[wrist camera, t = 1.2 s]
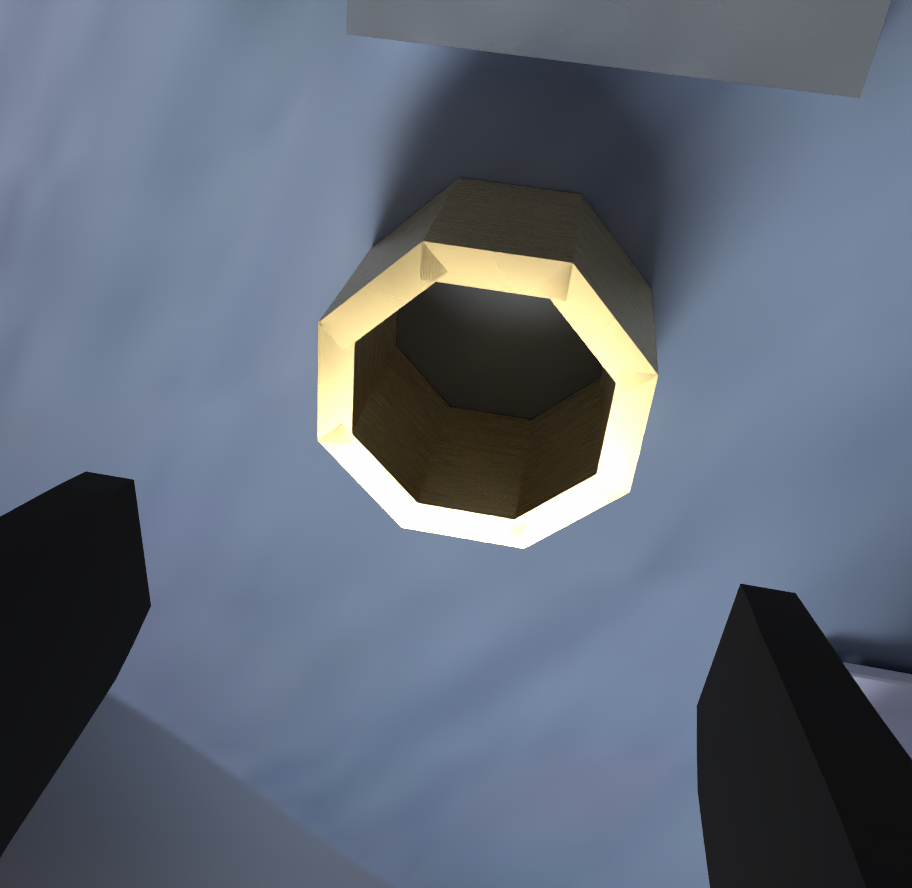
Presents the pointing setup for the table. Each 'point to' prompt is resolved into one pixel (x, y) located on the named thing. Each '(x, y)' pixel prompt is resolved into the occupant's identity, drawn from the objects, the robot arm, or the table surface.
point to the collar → (478, 433)
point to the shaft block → (654, 35)
